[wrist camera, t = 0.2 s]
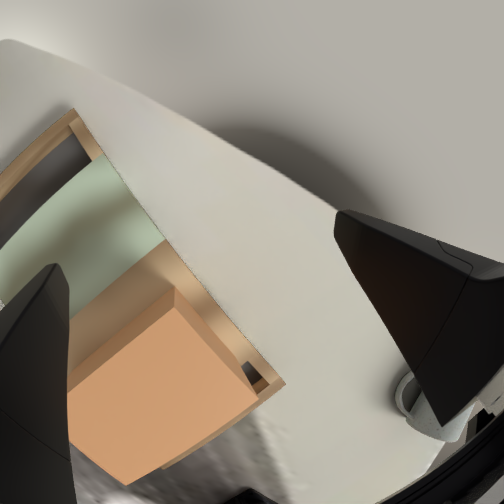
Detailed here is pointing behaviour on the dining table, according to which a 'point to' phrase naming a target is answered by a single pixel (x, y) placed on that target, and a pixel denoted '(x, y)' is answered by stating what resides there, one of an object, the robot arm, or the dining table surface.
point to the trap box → (101, 251)
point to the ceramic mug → (430, 416)
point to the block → (154, 390)
